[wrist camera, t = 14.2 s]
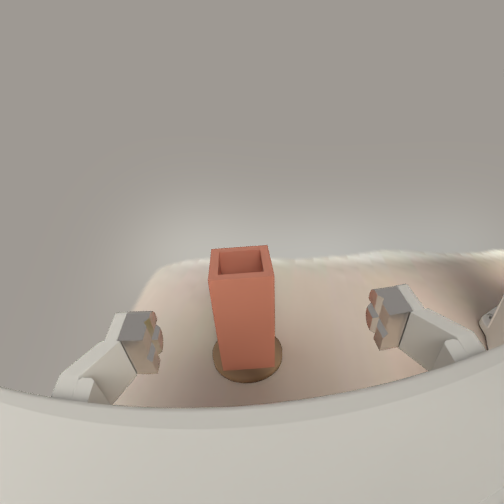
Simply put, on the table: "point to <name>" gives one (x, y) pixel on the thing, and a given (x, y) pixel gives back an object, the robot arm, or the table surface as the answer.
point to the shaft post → (247, 374)
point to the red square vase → (243, 306)
